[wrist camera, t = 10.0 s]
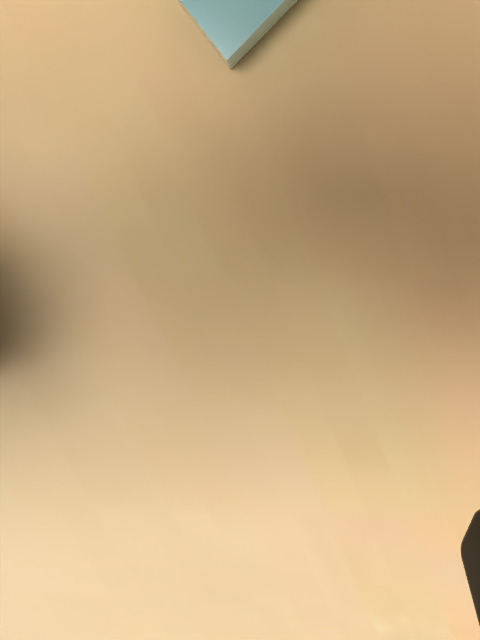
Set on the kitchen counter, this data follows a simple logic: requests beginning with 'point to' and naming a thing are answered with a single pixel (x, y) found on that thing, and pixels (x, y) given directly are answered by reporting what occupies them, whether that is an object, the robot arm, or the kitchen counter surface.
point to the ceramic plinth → (235, 23)
